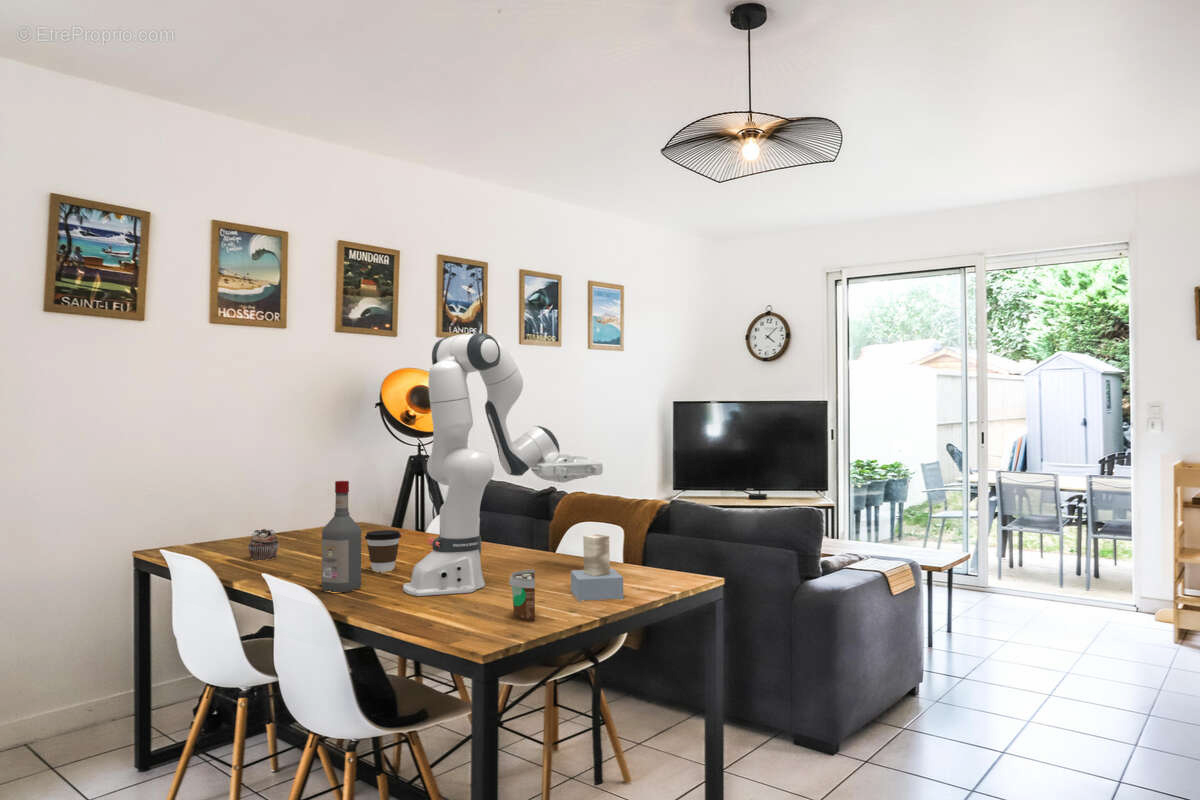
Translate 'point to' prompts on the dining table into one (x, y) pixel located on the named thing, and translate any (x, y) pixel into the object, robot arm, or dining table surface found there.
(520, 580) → the food container
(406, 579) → the dining table surface
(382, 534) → the coffee cup
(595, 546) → the birch block
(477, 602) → the dining table surface
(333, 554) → the liquor
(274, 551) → the cupcake
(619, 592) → the slate block
